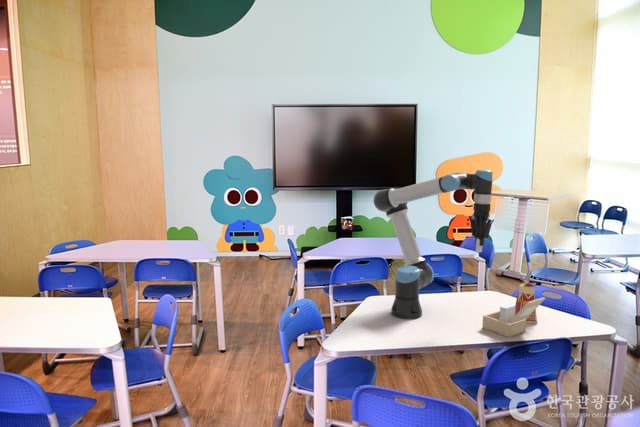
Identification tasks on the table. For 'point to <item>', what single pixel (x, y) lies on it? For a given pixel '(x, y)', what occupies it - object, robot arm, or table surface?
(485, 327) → the box
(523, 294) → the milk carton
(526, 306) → the lid
